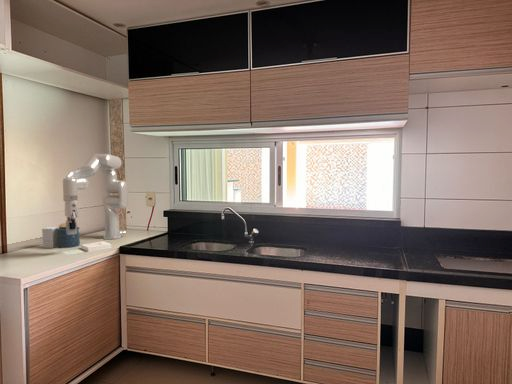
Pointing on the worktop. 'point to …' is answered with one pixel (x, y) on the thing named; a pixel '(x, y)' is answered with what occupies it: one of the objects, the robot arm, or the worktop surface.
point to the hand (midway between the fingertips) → (71, 228)
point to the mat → (72, 252)
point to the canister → (67, 237)
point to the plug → (70, 231)
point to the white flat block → (95, 246)
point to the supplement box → (50, 237)
